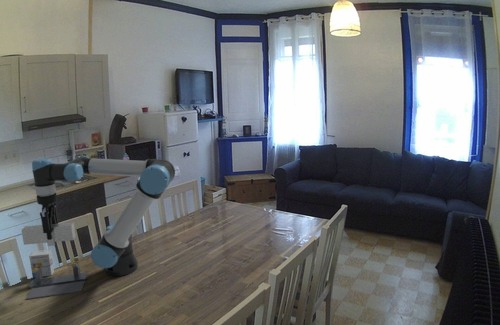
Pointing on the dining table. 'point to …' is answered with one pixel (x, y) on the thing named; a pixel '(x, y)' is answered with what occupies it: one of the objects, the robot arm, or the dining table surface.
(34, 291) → the mat
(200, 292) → the dining table surface
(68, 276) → the stand
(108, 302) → the dining table surface
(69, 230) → the rail
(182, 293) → the dining table surface
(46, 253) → the ink box
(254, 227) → the dining table surface
